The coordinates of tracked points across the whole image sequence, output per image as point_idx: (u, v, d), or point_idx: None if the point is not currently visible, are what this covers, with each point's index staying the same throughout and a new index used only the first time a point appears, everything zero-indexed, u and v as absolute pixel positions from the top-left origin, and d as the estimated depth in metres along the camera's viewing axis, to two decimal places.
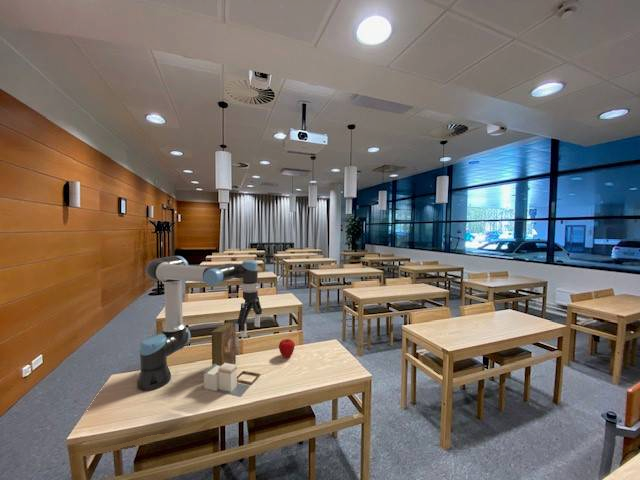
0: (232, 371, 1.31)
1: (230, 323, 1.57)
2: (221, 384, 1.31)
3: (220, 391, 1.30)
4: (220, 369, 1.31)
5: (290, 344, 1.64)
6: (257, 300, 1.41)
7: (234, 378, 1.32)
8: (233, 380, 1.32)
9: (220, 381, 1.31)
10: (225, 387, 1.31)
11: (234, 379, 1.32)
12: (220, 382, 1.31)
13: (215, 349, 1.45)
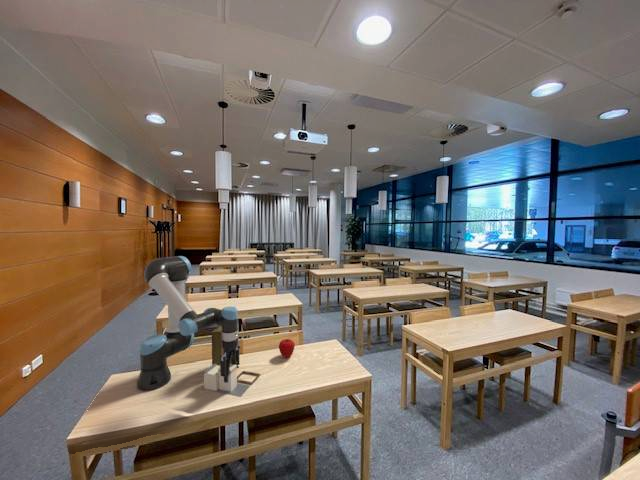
0: (232, 371, 1.31)
1: None
2: (221, 384, 1.31)
3: (220, 391, 1.30)
4: (220, 369, 1.31)
5: (290, 344, 1.64)
6: (237, 349, 1.36)
7: (234, 378, 1.32)
8: (233, 380, 1.32)
9: (220, 381, 1.31)
10: None
11: (234, 379, 1.32)
12: (220, 382, 1.31)
13: (215, 349, 1.45)
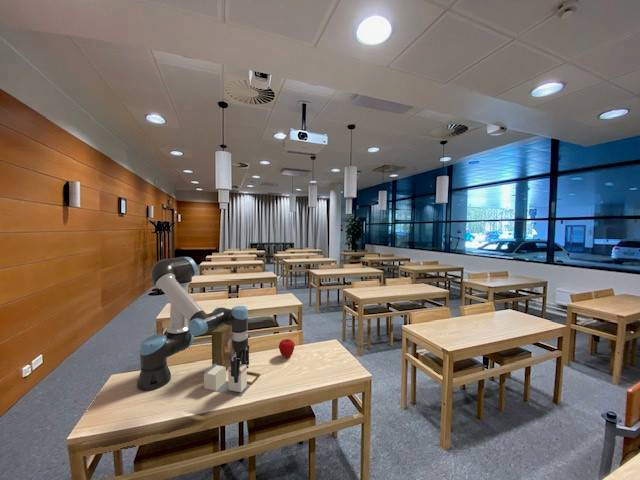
0: (242, 371, 1.29)
1: None
2: (231, 384, 1.29)
3: (220, 391, 1.30)
4: (230, 369, 1.29)
5: (290, 344, 1.64)
6: (247, 349, 1.34)
7: (244, 378, 1.31)
8: (243, 380, 1.30)
9: (230, 381, 1.30)
10: (235, 388, 1.29)
11: (244, 379, 1.31)
12: (230, 382, 1.30)
13: (215, 349, 1.45)
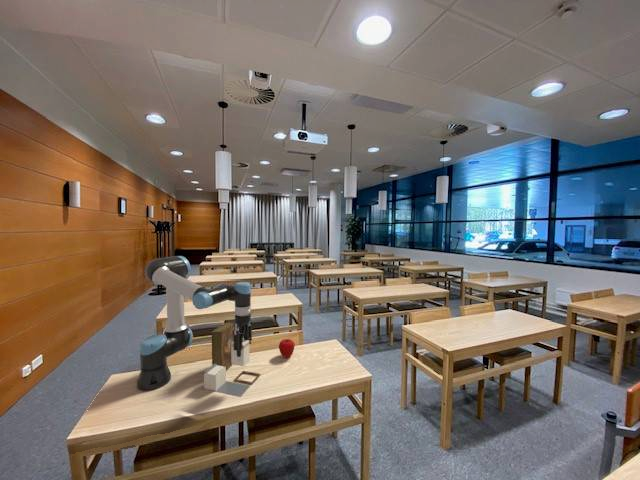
0: (245, 346, 1.31)
1: (230, 323, 1.57)
2: (234, 359, 1.31)
3: (220, 391, 1.30)
4: (233, 344, 1.31)
5: (290, 344, 1.64)
6: (250, 325, 1.36)
7: (247, 353, 1.33)
8: (246, 355, 1.32)
9: (233, 356, 1.31)
10: (237, 362, 1.31)
11: (247, 354, 1.33)
12: (233, 357, 1.31)
13: (215, 349, 1.45)
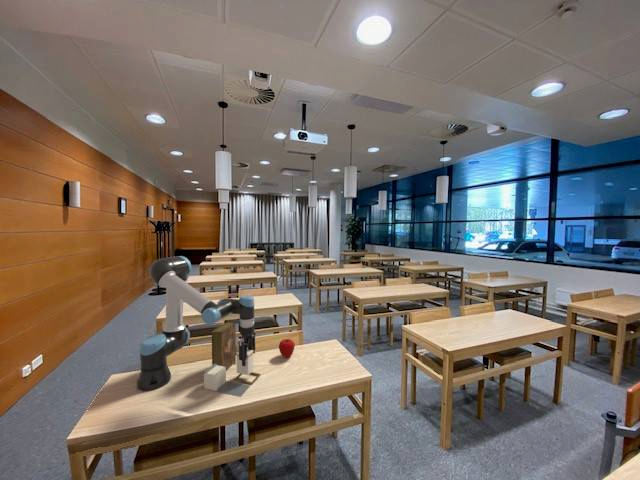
0: (249, 356, 1.39)
1: (230, 323, 1.57)
2: (239, 368, 1.39)
3: (220, 391, 1.30)
4: (238, 354, 1.39)
5: (290, 344, 1.64)
6: (253, 335, 1.44)
7: (251, 362, 1.41)
8: (250, 364, 1.40)
9: (238, 365, 1.40)
10: (242, 371, 1.39)
11: (251, 363, 1.41)
12: (238, 366, 1.40)
13: (215, 349, 1.45)
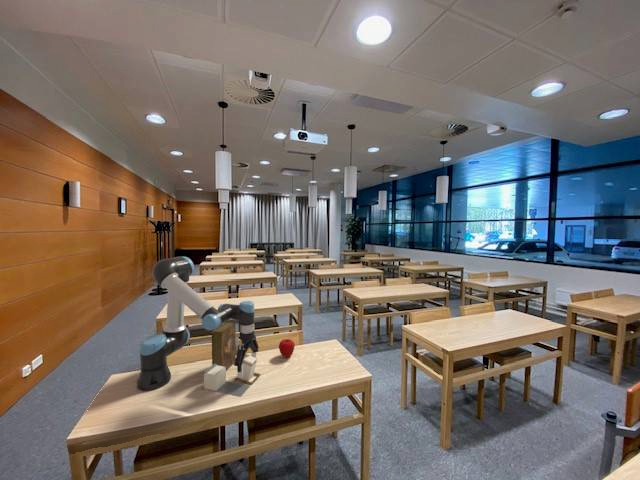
0: (253, 364, 1.39)
1: (230, 323, 1.57)
2: None
3: (220, 391, 1.30)
4: None
5: (290, 344, 1.64)
6: (254, 339, 1.45)
7: (252, 370, 1.41)
8: (252, 372, 1.40)
9: None
10: (243, 377, 1.39)
11: (252, 371, 1.41)
12: None
13: (215, 349, 1.45)
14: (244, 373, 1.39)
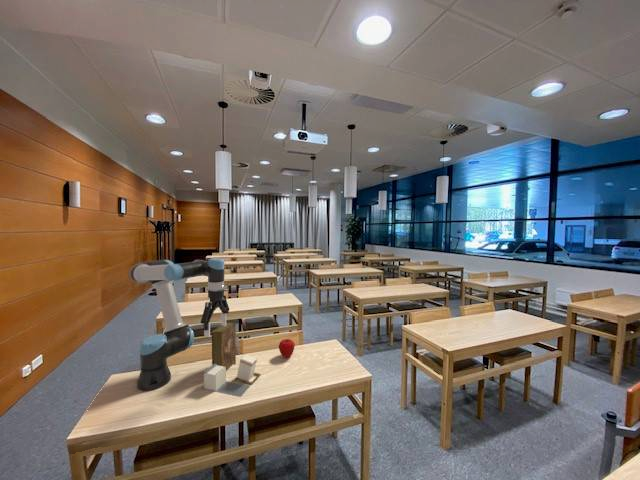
0: (253, 364, 1.39)
1: (230, 323, 1.57)
2: (240, 373, 1.40)
3: (220, 391, 1.30)
4: (242, 360, 1.39)
5: (290, 344, 1.64)
6: (224, 299, 1.38)
7: (252, 370, 1.41)
8: (252, 372, 1.40)
9: (239, 370, 1.40)
10: (243, 377, 1.39)
11: (252, 371, 1.41)
12: (239, 371, 1.40)
13: (215, 349, 1.45)
14: (244, 373, 1.39)
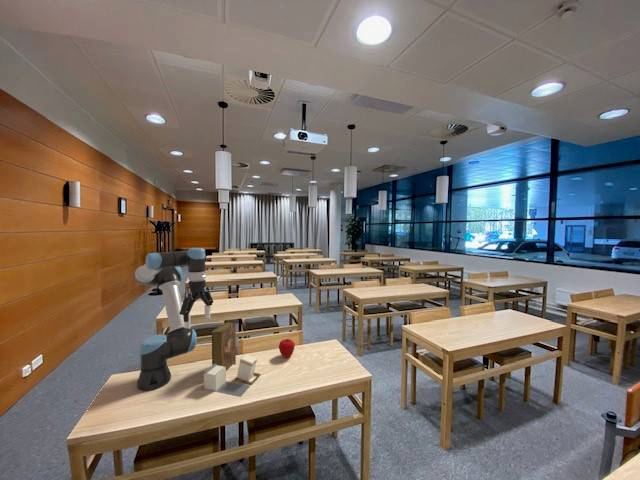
0: (253, 364, 1.39)
1: (230, 323, 1.57)
2: (240, 373, 1.40)
3: (220, 391, 1.30)
4: (242, 360, 1.39)
5: (290, 344, 1.64)
6: (206, 290, 1.34)
7: (252, 370, 1.41)
8: (252, 372, 1.40)
9: (239, 370, 1.40)
10: (243, 377, 1.39)
11: (252, 371, 1.41)
12: (239, 371, 1.40)
13: (215, 349, 1.45)
14: (244, 373, 1.39)
